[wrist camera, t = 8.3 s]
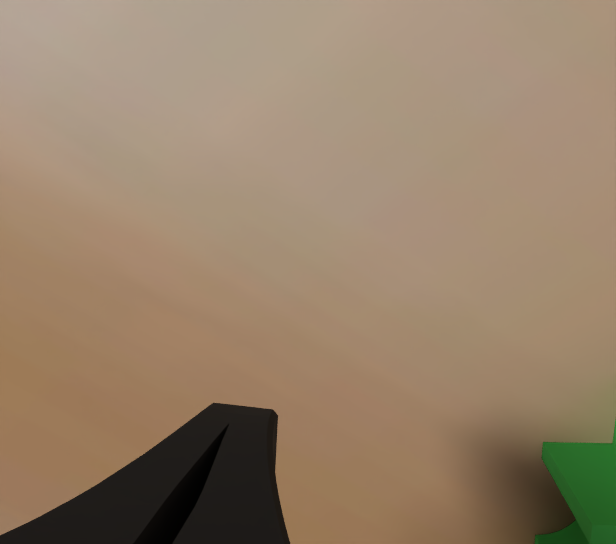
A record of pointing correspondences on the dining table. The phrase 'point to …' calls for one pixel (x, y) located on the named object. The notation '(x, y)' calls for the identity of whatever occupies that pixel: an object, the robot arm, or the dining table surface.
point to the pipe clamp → (584, 490)
